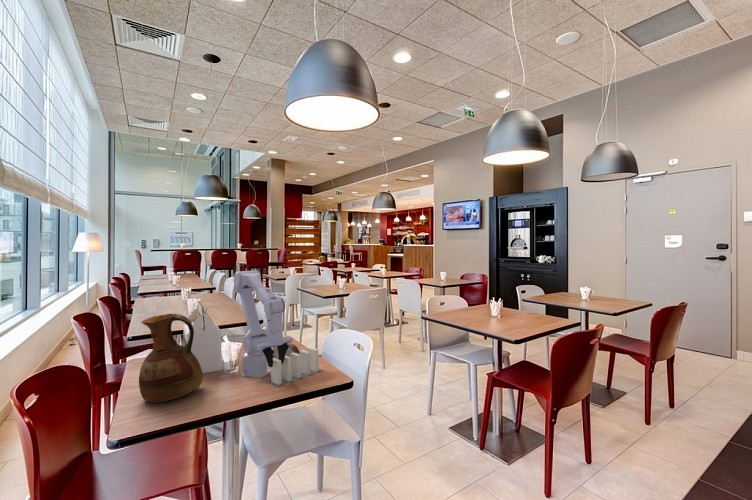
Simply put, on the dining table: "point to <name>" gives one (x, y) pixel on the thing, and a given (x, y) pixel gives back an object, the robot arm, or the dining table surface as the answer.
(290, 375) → the domino
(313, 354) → the domino
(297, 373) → the domino
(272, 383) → the mat
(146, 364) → the ceramic pitcher
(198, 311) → the gable box
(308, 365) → the domino
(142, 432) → the dining table surface
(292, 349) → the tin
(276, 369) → the domino
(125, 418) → the dining table surface
